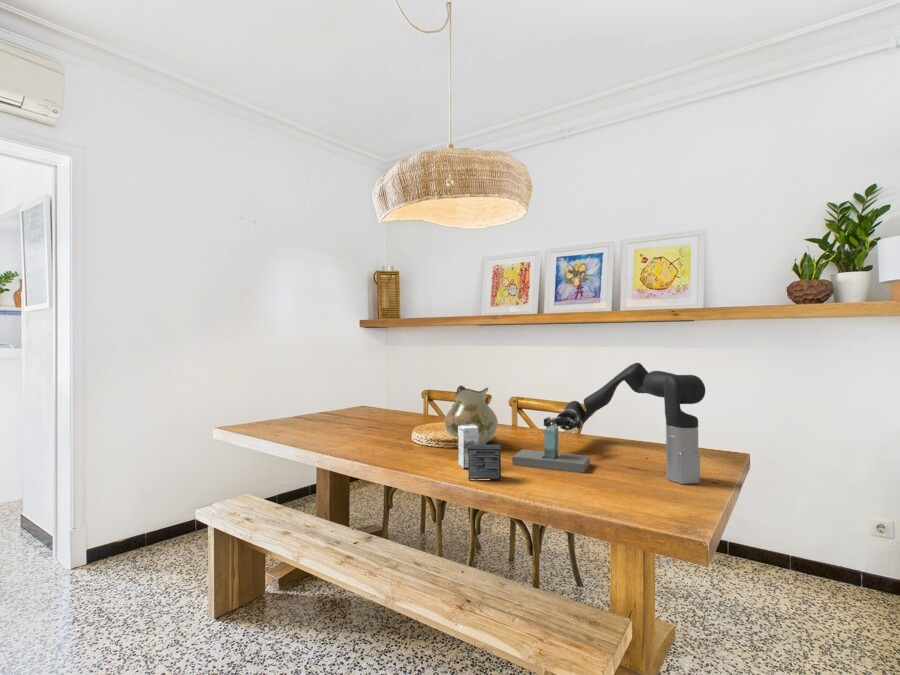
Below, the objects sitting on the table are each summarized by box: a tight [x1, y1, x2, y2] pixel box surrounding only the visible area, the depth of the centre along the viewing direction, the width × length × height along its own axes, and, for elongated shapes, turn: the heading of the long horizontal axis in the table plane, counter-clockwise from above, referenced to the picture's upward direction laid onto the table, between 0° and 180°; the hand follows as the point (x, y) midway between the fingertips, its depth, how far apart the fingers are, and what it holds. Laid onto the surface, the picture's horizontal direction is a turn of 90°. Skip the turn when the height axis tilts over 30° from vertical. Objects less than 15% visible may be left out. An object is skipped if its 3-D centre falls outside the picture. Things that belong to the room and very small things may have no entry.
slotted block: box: [511, 448, 591, 474], centre depth 171 cm, size 12×25×3 cm, turn 64°
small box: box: [467, 444, 502, 481], centre depth 155 cm, size 11×6×10 cm, turn 84°
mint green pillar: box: [543, 426, 559, 460], centre depth 171 cm, size 6×4×13 cm, turn 154°
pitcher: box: [444, 385, 498, 445], centre depth 202 cm, size 22×24×25 cm
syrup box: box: [457, 425, 478, 469], centre depth 169 cm, size 6×6×14 cm
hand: (558, 426), depth 181 cm, fingers open, 8 cm apart
